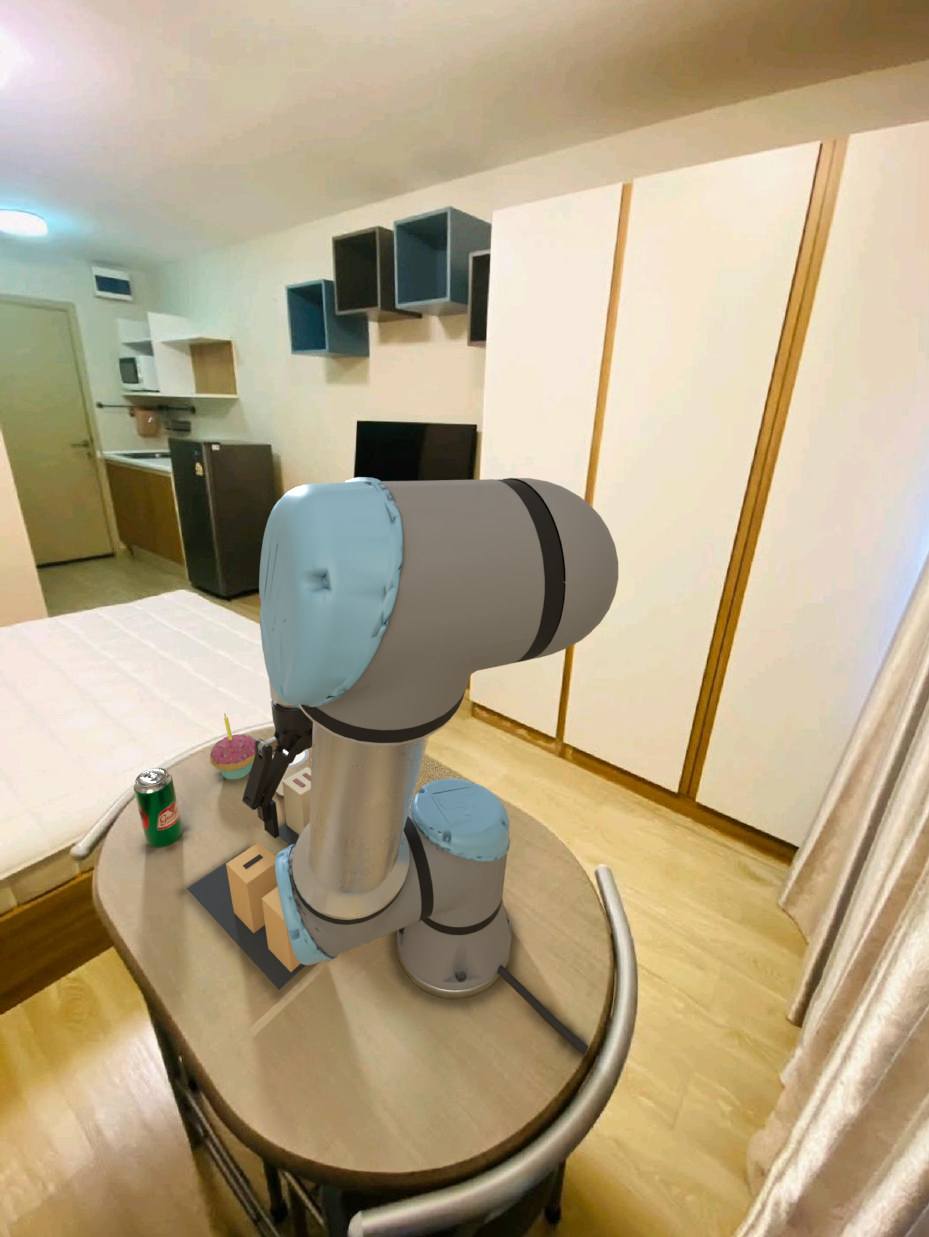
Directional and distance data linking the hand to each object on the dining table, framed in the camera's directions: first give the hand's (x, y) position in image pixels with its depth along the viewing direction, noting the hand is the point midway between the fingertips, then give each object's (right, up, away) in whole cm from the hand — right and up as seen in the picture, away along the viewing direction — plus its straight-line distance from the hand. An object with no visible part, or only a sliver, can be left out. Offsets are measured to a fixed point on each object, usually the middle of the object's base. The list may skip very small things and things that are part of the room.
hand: (306, 810), depth 85 cm
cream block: (0, -3, +1) cm, 3 cm away
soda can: (-22, -4, -2) cm, 22 cm away
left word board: (-2, -9, -13) cm, 16 cm away
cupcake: (-17, +2, +13) cm, 21 cm away
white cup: (-6, 0, +10) cm, 11 cm away
